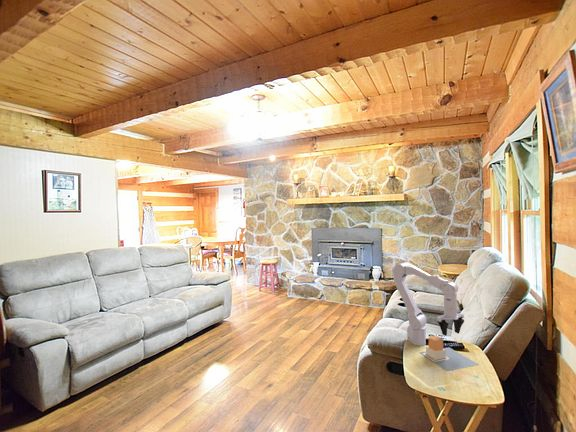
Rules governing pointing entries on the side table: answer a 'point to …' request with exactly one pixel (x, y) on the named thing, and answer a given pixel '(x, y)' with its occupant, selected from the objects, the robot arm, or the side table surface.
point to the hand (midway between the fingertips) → (450, 333)
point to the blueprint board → (452, 360)
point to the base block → (435, 353)
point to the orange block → (435, 343)
